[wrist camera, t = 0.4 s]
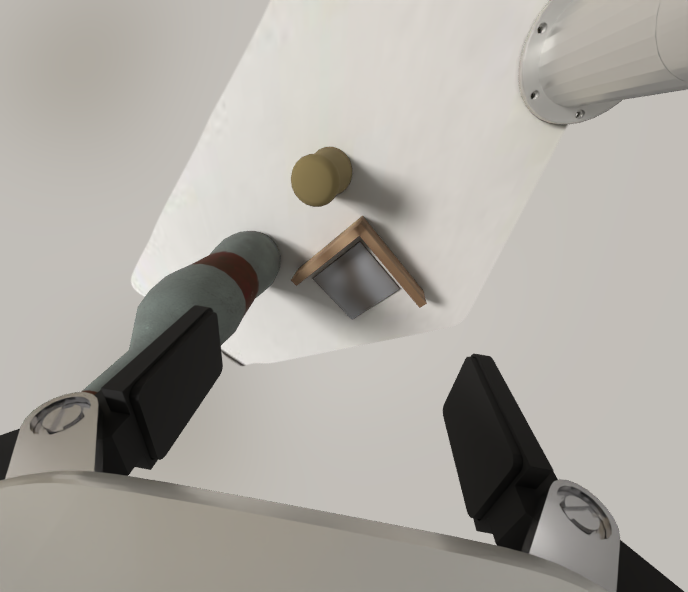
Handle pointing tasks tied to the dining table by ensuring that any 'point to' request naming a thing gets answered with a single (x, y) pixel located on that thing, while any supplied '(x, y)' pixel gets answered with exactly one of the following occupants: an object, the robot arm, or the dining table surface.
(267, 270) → the bottle
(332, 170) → the cork
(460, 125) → the dining table surface
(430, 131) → the dining table surface
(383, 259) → the corner arena
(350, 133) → the dining table surface
